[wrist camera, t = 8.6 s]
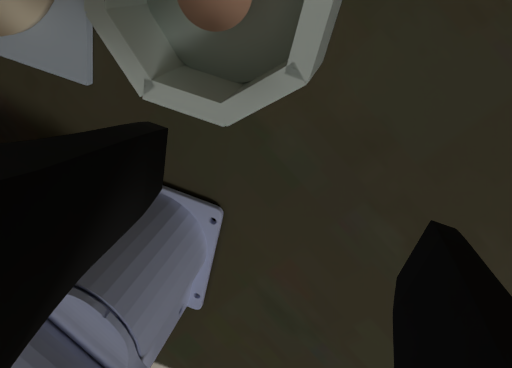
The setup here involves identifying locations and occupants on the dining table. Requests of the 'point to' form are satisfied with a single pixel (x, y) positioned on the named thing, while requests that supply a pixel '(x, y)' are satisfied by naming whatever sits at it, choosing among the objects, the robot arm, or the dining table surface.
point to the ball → (215, 13)
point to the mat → (56, 43)
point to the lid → (21, 15)
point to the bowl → (215, 53)
